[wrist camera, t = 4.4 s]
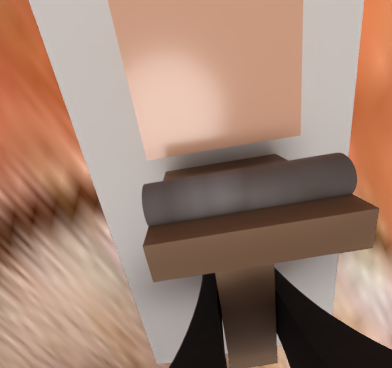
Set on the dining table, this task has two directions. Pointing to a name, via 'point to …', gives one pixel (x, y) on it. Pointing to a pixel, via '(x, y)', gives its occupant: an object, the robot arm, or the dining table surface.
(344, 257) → the dining table surface
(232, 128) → the tile
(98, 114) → the mat
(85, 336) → the dining table surface
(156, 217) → the pusher
